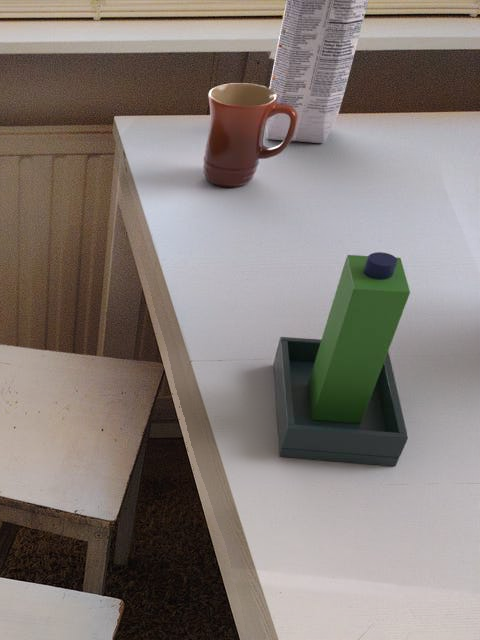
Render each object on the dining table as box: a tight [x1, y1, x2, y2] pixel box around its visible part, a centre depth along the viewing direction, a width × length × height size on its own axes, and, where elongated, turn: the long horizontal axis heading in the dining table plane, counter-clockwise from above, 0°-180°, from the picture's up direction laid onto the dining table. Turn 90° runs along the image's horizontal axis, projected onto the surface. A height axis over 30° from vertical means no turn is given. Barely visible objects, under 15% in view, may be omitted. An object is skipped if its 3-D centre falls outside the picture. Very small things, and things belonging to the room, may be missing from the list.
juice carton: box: [265, 0, 369, 144], centre depth 114 cm, size 9×10×27 cm
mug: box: [202, 82, 298, 188], centre depth 110 cm, size 12×9×10 cm
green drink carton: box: [308, 251, 411, 423], centre depth 74 cm, size 6×4×14 cm
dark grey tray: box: [272, 336, 409, 467], centre depth 79 cm, size 15×10×3 cm
